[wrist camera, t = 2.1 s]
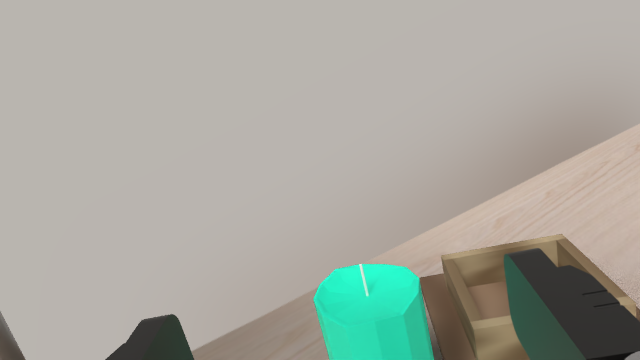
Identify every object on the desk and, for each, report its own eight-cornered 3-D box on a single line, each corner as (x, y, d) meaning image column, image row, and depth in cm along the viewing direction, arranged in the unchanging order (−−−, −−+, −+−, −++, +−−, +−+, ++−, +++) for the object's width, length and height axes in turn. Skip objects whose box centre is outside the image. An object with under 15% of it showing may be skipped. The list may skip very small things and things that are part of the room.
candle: (333, 430, 30) (288, 271, 26) (401, 380, 32) (369, 229, 29) (393, 497, 25) (348, 312, 21) (468, 432, 27) (440, 257, 24)
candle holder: (458, 408, 29) (449, 355, 28) (421, 288, 42) (414, 249, 41) (692, 375, 28) (693, 317, 26) (577, 261, 41) (575, 219, 40)
